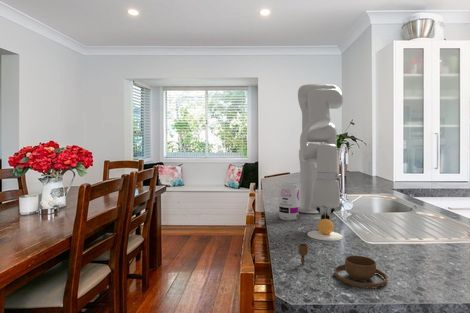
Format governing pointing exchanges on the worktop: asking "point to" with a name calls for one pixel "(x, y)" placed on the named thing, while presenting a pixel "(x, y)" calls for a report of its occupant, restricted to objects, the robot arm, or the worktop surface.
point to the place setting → (352, 269)
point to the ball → (325, 226)
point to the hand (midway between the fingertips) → (325, 225)
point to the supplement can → (288, 201)
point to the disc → (325, 236)
